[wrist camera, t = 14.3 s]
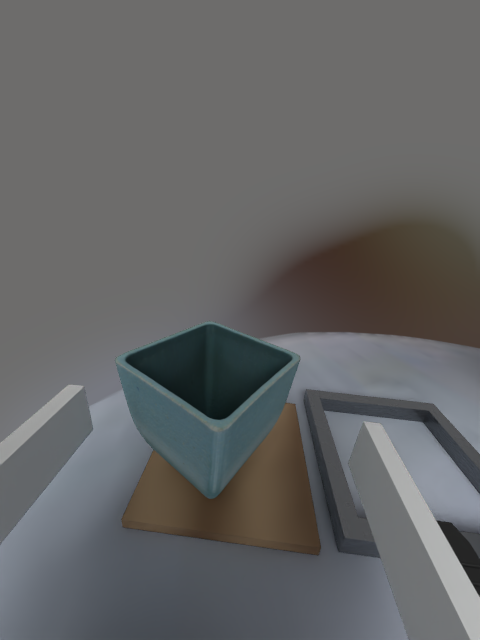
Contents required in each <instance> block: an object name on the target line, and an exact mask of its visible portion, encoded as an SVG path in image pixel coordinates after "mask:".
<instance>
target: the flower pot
mask: <svg viewBox="0 0 480 640" xmlns="http://www.w3.org/2000/svg"><path fill="white" fill-rule="evenodd" d="M299 362H300V356H299V355H297V354H295V353H293V352H290V351H288V350H286V349H283V348H280V347H278V346H275V345H273V344H270V343H267V342H264V341H262V340H260V339H257V338H254V337H252V336H249V335H246V334H243V333H241V332H238V331H236V330H233V329H231V328H228V327H226V326H223V325H221V324H219V323H216V322H211V321H207V322H204V323H201V324H198V325H196V326H194V327H191V328H188V329H186V330H183V331H180V332H178V333H175V334H173V335H170V336H168V337H164V338H162V339H160V340H157V341H154V342H151V343H149V344H147V345H144V346H142V347H139V348H136V349H134V350H131V351H128V352H126V353H124V354H122V355H120V356H118V357H116V358H115V363H116V366H117V370H118V373H119V377H120V380H121V384H122V387H123V391H124V394H125V397H126V400H127V404H128V407H129V410H130V413H131V416H132V419H133V421H134V423H135V425H136V427H137V429H138V430H139V432H140V434H141V435H142V436H143V438H144V439H145V440H146V442H147V443H148V444H149V445H150V446H151V447H152V448H153V449H154V450H155V451H156V452H157V453H158V454H159V455H160V456H161V457H162V458H164V459H165V460H166V461H167V462H168V463H169V464H170V465H171V466H172V467H174V468H175V469H176V470H177V471H178V472H179V473H180V474H181V475H182V476H184V477H185V478H186V479H187V480H188V481H189V482H190V483H191V484H192V485H193V486H195V487H196V488H197V489H198V490H199V491H200V492H201V493H202V494H203V495H204V496H205V497H207V498H209V499H213V498H216V497H217V496H218V495H219V494H220V493H221V492H222V490H223V489H224V488H225V487H226V485H227V484H228V483H229V482H230V480H231V479H232V478H233V477H234V476H235V474H236V473H237V472H238V471H239V469H240V468H241V467H242V466H243V464H244V463H245V462H246V461H247V460H248V458H249V457H250V456H251V455H252V454H253V452H254V451H255V450H256V449H257V447H258V446H259V445H260V444H261V443H262V442H263V440H264V439H265V438H266V437H267V435H268V434H269V433H270V431H271V430H272V428H273V427H274V425H275V424H276V422H277V420H278V418H279V417H280V415H281V413H282V410H283V408H284V405H285V402H286V400H287V397H288V394H289V391H290V388H291V385H292V382H293V379H294V376H295V373H296V371H297V368H298V365H299Z"/></svg>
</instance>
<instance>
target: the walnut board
mask: <svg viewBox="0 0 480 640" xmlns="http://www.w3.org/2000/svg"><path fill="white" fill-rule="evenodd" d="M121 520H122V526H123V527H125V528H132V529H139V530H146V531H153V532H160V533H167V534H174V535H181V536H188V537H195V538H202V539H209V540H216V541H223V542H230V543H237V544H244V545H251V546H258V547H265V548H272V549H279V550H286V551H293V552H300V553H307V554H314V555H319V552H320V549H321V545H320V539H319V534H318V528H317V523H316V517H315V512H314V506H313V501H312V495H311V489H310V484H309V478H308V473H307V467H306V462H305V456H304V451H303V445H302V440H301V434H300V428H299V423H298V417H297V412H296V406H295V404H290V403H285V405H284V408H283V410H282V413H281V415H280V417H279V418H278V420H277V422H276V424H275V425H274V427H273V428H272V430H271V431H270V433H269V434H268V435H267V437H266V438H265V439H264V440H263V442H262V443H261V444H260V445H259V446H258V447H257V449H256V450H255V451H254V452H253V454H252V455H251V456H250V457H249V458H248V460H247V461H246V462H245V463H244V464H243V466H242V467H241V468H240V469H239V471H238V472H237V473H236V474H235V476H234V477H233V478H232V479H231V480H230V482H229V483H228V484H227V485H226V487H225V488H224V489H223V490H222V492H221V493H220V494H219V495H218V496H217V497H216V498H213V499H209V498H207V497H205V496H204V495H203V494H202V493H201V492H200V491H199V490H198V489H197V488H196V487H195V486H193V485H192V484H191V483H190V482H189V481H188V480H187V479H186V478H185V477H184V476H182V475H181V474H180V473H179V472H178V471H177V470H176V469H175V468H174V467H172V466H171V465H170V464H169V463H168V462H167V461H166V460H165V459H164V458H162V457H161V456H160V455H159V454H158V453H157V452H156V451H155V450H153V452H152V454H151V457H150V459H149V461H148V463H147V465H146V467H145V470H144V472H143V474H142V476H141V478H140V480H139V482H138V485H137V487H136V489H135V491H134V493H133V495H132V498H131V500H130V502H129V504H128V506H127V508H126V511H125V513H124V515H123V517H122V519H121Z"/></svg>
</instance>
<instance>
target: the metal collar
mask: <svg viewBox="0 0 480 640" xmlns="http://www.w3.org/2000/svg"><path fill="white" fill-rule="evenodd" d="M304 404H305V408H306V412H307V417H308V421H309V425H310V430H311V434H312V438H313V443H314V447H315V451H316V455H317V460H318V464H319V468H320V473H321V477H322V481H323V486H324V490H325V494H326V499H327V503H328V507H329V512H330V516H331V520H332V525H333V529H334V533H335V538H336V542H337V546H338V551H339V552H343V553H350V554H357V555H364V556H371V557H378V558H381V557H380V554H379V552H378V549H377V546H376V543H375V540H374V537H373V534H372V531H371V528H370V525H369V522H368V520H367V519H366V518H358V515H357V512H356V509H355V506H354V503H353V500H352V496H351V493H350V490H349V487H348V484H347V481H346V478H345V475H344V472H343V469H342V465H341V462H340V459H339V456H338V453H337V450H336V447H335V444H334V441H333V438H332V435H331V431H330V428H329V425H328V422H327V419H326V416H325V413H324V410H326V411H335V412H343V413H352V414H360V415H369V416H377V417H386V418H394V419H403V420H412V421H420V422H424V423H425V425H426V426H427V427H428V428H429V430H430V431H431V432H432V433H433V435H434V436H435V437H436V439H437V440H438V441H439V442H440V444H441V445H442V446H443V447H444V449H445V450H446V451H447V452H448V454H449V455H450V456H451V457H452V459H453V460H454V461H455V463H456V464H457V465H458V466H459V468H460V469H461V470H462V471H463V473H464V474H465V475H466V476H467V478H468V479H469V480H470V481H471V483H472V484H473V485H474V487H475V488H476V489H477V490H478V492H479V493H480V454H479V453H478V452H477V451H476V450H475V449H474V448H473V446H472V445H471V444H470V443H469V442H468V441H467V440H466V439H465V438H464V437H463V436H462V434H461V433H460V432H459V431H458V430H457V429H456V428H455V427H454V426H453V425H452V424H451V423H450V421H449V420H448V419H447V418H446V417H445V416H444V415H443V414H442V413H441V412H440V411H439V410H438V408H437V407H436V406H435V405H434V404H430V403H421V402H412V401H404V400H395V399H386V398H377V397H368V396H360V395H351V394H342V393H333V392H324V391H316V390H307V389H306V393H305V397H304ZM459 532H460V533H461V534H462V535H463V536H464V537H465V538H466V539H467V540H468V541H469V542H470V544H471V546H472V547H473V549H474V550H475V552H476V553H477V555H478V557H479V558H480V534H477V533H469V532H462V531H459Z"/></svg>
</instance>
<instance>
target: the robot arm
mask: <svg viewBox="0 0 480 640" xmlns="http://www.w3.org/2000/svg"><path fill="white" fill-rule="evenodd" d="M92 430H93V426H92V421H91V416H90V411H89V406H88V402H87V397H86V392H85V387H84V386H77V385H68V386H67V387H65V388H64V389H63V390H62V391H61V392H60V393H59V394H57V395H56V396H55V397H54V398H53V399H51V400H50V401H49V402H48V403H47V404H46V405H44V406H43V407H42V408H41V409H40V410H39V411H37V412H36V413H35V414H34V415H33V416H32V417H30V418H29V419H28V420H27V421H26V422H25V423H23V424H22V425H21V426H20V427H19V428H18V429H16V430H15V431H14V432H13V433H12V434H11V435H10V436H9V437H7V438H6V439H5V440H4V441H2V442H1V443H0V544H1V543H2V542H3V541H4V539H5V538H6V537H7V536H8V534H9V533H10V532H11V531H12V529H13V528H14V527H15V526H16V524H17V523H18V522H19V521H20V519H21V518H22V517H23V516H24V514H25V513H26V512H27V511H28V510H29V508H30V507H31V506H32V505H33V503H34V502H35V501H36V500H37V498H38V497H39V496H40V495H41V493H42V492H43V491H44V490H45V488H46V487H47V486H48V485H49V483H50V482H51V481H52V480H53V478H54V477H55V476H56V475H57V474H58V472H59V471H60V470H61V469H62V467H63V466H64V465H65V464H66V462H67V461H68V460H69V459H70V457H71V456H72V455H73V454H74V452H75V451H76V450H77V449H78V447H79V446H80V445H81V444H82V443H83V441H84V440H85V439H86V438H87V436H88V435H89V434H90V433H91V431H92ZM348 464H349V467H350V470H351V473H352V476H353V479H354V482H355V485H356V487H357V490H358V493H359V496H360V499H361V502H362V505H363V508H364V511H365V514H366V517H367V520H368V522H369V525H370V528H371V531H372V534H373V537H374V540H375V543H376V546H377V549H378V552H379V554H380V557H381V560H382V563H383V566H384V569H385V572H386V575H387V578H388V581H389V584H390V586H391V589H392V592H393V595H394V598H395V601H396V604H397V607H398V610H399V613H400V616H401V618H402V621H403V624H404V627H405V630H406V633H407V636H408V639H409V640H480V558H479V557H478V555H477V553H476V552H475V550H474V549H473V547H472V546H471V544H470V542H469V541H468V540H467V539H466V538H465V537H464V536H463V535H462V534H461V533H460V532H459V531H458V530H457V528H456V527H455V526H454V525H453V524H452V523H449V522H442V521H436V520H435V518H434V516H433V514H432V513H431V511H430V509H429V507H428V506H427V504H426V502H425V500H424V499H423V497H422V495H421V493H420V491H419V490H418V488H417V486H416V484H415V483H414V481H413V479H412V477H411V476H410V474H409V472H408V470H407V469H406V467H405V465H404V463H403V462H402V460H401V458H400V456H399V455H398V453H397V451H396V449H395V448H394V446H393V444H392V442H391V440H390V439H389V437H388V435H387V433H386V432H385V430H384V428H383V426H382V425H381V423H373V422H365V421H363V424H362V427H361V430H360V432H359V435H358V438H357V441H356V443H355V446H354V449H353V452H352V455H351V457H350V460H349V463H348Z"/></svg>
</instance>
